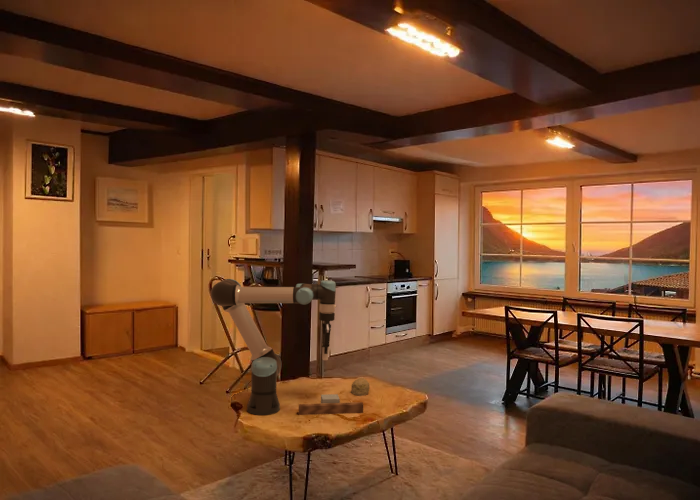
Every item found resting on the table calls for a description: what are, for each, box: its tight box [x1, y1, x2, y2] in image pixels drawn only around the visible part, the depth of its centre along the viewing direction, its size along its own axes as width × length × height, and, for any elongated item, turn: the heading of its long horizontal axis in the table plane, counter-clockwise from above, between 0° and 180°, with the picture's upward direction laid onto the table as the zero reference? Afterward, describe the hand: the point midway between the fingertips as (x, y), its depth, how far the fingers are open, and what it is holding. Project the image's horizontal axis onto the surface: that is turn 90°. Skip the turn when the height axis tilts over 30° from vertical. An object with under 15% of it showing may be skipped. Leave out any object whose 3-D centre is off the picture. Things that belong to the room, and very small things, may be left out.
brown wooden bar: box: [297, 401, 364, 416], centre depth 249 cm, size 30×3×4 cm, turn 100°
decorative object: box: [350, 377, 370, 397], centre depth 278 cm, size 9×10×10 cm
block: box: [320, 393, 341, 403], centre depth 254 cm, size 8×7×6 cm
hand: (325, 359), depth 262 cm, fingers closed
